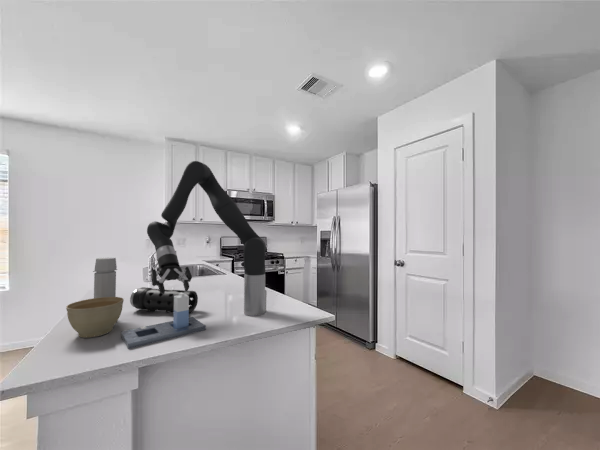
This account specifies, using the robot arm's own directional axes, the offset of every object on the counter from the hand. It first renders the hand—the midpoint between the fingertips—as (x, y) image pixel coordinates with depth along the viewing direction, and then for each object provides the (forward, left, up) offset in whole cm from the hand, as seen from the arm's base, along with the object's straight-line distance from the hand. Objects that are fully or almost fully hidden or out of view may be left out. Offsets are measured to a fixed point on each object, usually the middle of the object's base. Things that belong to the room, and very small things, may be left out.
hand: (175, 291), depth 103 cm
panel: (+7, +5, -13) cm, 16 cm away
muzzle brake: (-7, -20, -13) cm, 25 cm away
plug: (+2, +7, -12) cm, 14 cm away
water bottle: (+13, -28, -13) cm, 33 cm away
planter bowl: (+20, -16, -13) cm, 29 cm away
